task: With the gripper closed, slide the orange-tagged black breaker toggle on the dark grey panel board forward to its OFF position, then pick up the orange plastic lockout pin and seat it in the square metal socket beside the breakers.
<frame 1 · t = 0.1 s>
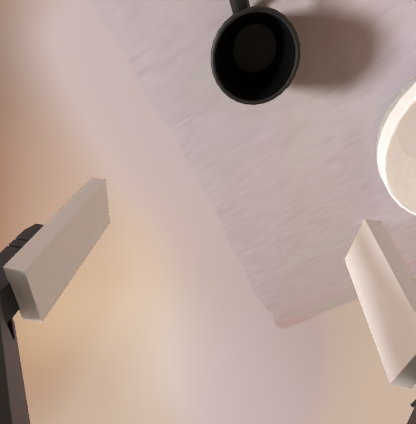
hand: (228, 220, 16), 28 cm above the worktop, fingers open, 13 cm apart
mug: (250, 31, 35), on the worktop
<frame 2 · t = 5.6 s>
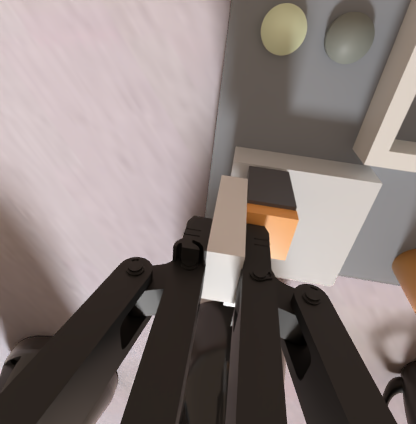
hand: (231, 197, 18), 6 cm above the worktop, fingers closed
mug: (408, 371, 34), on the worktop
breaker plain: (246, 269, 20), point 6 cm above the worktop, slide at 0.0 cm
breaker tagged: (264, 211, 17), point 7 cm above the worktop, slide at 0.2 cm, touching gripper
black domed piece: (233, 305, 32), on the worktop
lockout pin: (413, 264, 24), point 2 cm above the worktop, touching panel board
panel board: (355, 156, 21), on the worktop
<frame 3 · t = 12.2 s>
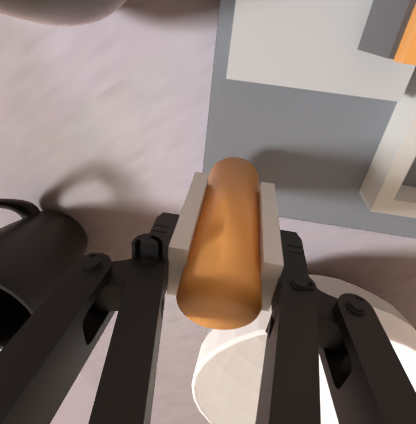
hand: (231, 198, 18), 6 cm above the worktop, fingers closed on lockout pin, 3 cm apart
bowl: (298, 312, 31), on the worktop
mug: (49, 216, 28), on the worktop
lockout pin: (233, 180, 20), point 4 cm above the worktop, touching gripper
panel board: (377, 78, 19), on the worktop
when the fingers open (5 cm above the worktop, at t = 16.6 s): lockout pin stays where it is, resting on panel board.
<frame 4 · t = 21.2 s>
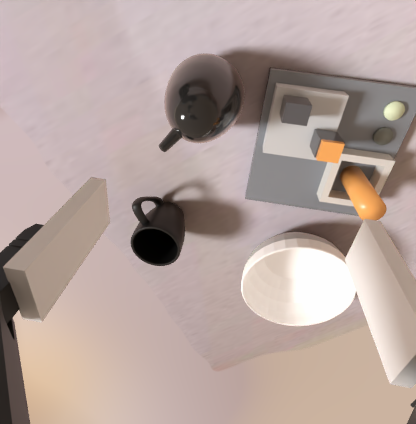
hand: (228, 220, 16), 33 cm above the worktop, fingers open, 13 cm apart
bowl: (291, 255, 59), on the worktop
mug: (165, 205, 56), on the worktop
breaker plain: (294, 109, 38), point 6 cm above the worktop, slide at 0.0 cm
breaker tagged: (326, 145, 39), point 7 cm above the worktop, slide at 3.7 cm
black domed piece: (209, 90, 44), on the worktop
lockout pin: (350, 175, 46), point 2 cm above the worktop, touching panel board
panel board: (322, 147, 46), on the worktop
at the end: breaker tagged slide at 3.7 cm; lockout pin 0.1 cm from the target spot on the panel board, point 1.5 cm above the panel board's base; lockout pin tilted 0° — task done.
